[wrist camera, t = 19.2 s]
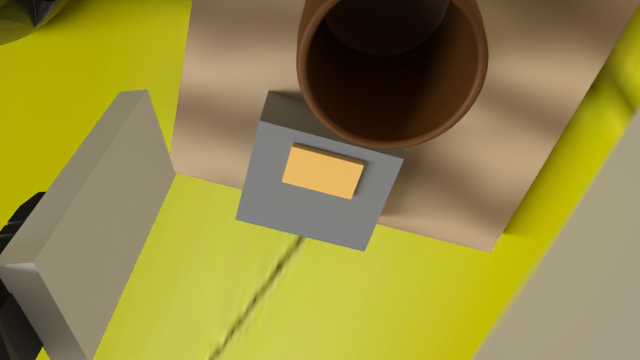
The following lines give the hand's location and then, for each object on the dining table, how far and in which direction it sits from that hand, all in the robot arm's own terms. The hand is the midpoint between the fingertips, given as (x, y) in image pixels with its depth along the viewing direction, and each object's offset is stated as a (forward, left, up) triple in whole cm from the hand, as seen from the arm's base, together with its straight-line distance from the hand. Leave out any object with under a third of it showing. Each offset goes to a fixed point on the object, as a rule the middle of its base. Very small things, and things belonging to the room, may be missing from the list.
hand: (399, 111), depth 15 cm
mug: (+1, 0, -17) cm, 17 cm away
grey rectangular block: (-5, -12, -17) cm, 21 cm away
